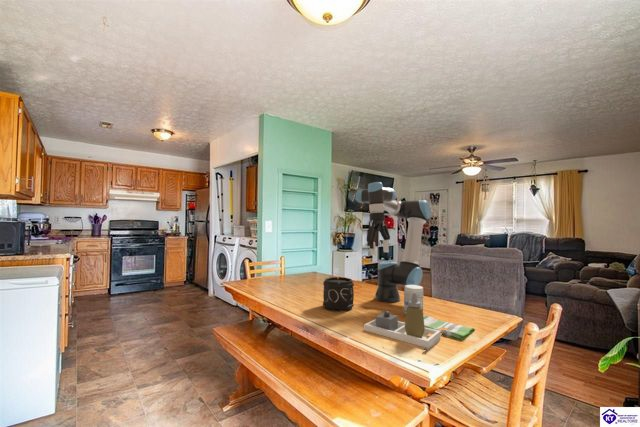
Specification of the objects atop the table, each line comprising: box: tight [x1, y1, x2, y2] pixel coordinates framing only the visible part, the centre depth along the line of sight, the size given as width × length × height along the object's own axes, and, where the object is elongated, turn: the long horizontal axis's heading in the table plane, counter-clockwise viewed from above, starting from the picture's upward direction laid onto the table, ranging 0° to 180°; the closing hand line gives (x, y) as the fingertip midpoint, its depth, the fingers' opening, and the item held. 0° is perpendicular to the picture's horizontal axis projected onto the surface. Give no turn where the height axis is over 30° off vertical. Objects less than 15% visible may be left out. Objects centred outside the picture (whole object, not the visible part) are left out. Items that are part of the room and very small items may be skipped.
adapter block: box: [375, 310, 399, 331], centre depth 132 cm, size 7×7×8 cm
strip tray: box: [363, 318, 441, 351], centre depth 127 cm, size 14×28×4 cm, turn 50°
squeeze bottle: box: [404, 293, 425, 338], centre depth 124 cm, size 8×8×18 cm
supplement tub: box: [403, 285, 424, 315], centre depth 157 cm, size 10×10×15 cm
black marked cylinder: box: [322, 276, 355, 313], centre depth 169 cm, size 18×18×16 cm
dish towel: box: [423, 314, 476, 342], centre depth 137 cm, size 17×23×4 cm
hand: (379, 253), depth 153 cm, fingers open, 13 cm apart
